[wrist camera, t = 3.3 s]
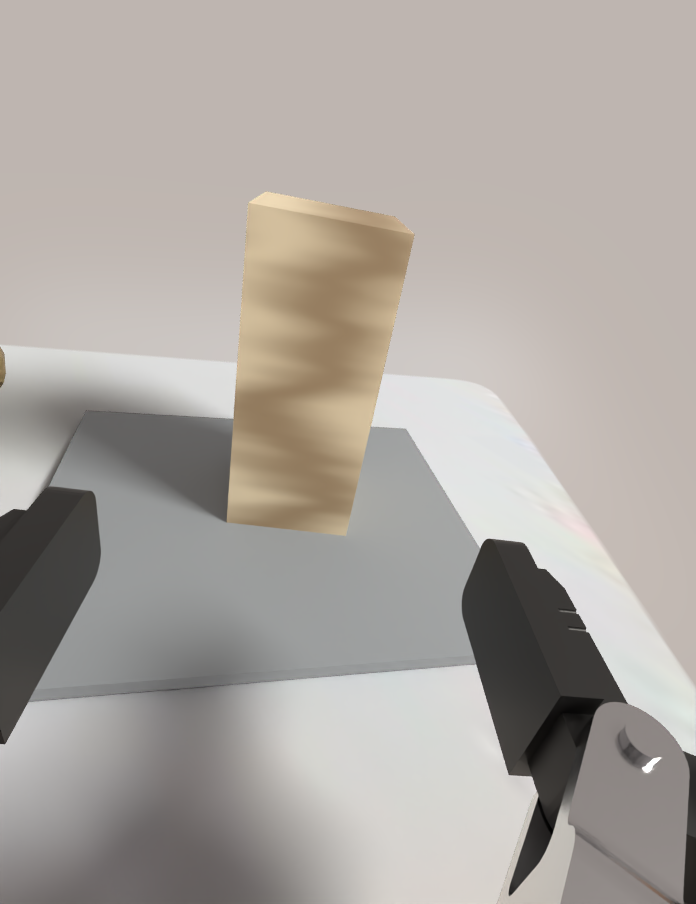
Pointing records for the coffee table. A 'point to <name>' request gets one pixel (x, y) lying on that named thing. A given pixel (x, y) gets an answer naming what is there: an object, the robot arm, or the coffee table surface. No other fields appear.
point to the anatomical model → (2, 367)
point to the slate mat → (252, 568)
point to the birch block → (310, 358)
